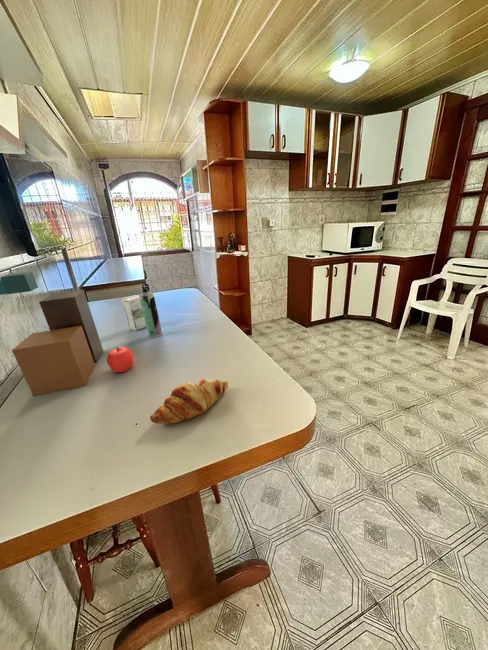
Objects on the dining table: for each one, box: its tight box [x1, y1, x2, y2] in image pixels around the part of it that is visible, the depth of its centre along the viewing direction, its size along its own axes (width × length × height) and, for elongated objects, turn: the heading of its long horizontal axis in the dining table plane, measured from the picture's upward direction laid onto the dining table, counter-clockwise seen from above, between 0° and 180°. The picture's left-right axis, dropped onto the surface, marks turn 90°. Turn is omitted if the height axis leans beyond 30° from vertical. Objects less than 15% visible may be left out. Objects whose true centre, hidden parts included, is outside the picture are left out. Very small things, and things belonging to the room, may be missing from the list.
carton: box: [11, 326, 96, 397], centre depth 81 cm, size 14×12×15 cm
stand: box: [38, 289, 104, 365], centre depth 92 cm, size 10×10×24 cm
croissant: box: [149, 378, 229, 424], centre depth 66 cm, size 21×10×8 cm, turn 130°
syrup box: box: [121, 294, 147, 332], centre depth 118 cm, size 6×6×14 cm
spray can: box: [138, 287, 163, 339], centre depth 108 cm, size 6×6×20 cm
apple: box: [106, 346, 135, 373], centre depth 86 cm, size 8×8×8 cm
